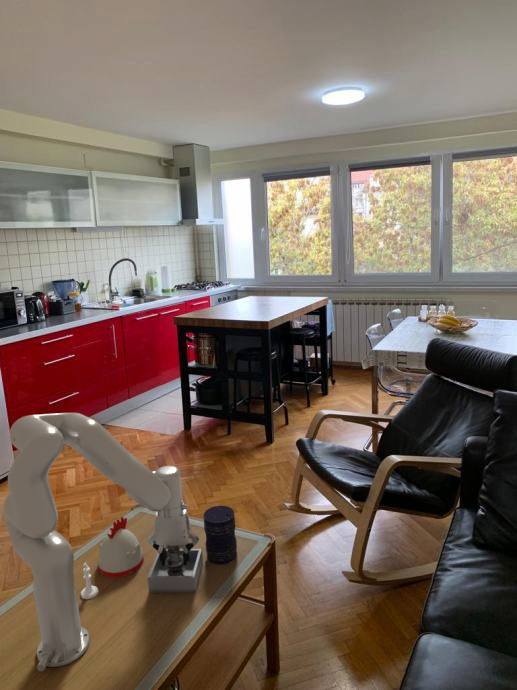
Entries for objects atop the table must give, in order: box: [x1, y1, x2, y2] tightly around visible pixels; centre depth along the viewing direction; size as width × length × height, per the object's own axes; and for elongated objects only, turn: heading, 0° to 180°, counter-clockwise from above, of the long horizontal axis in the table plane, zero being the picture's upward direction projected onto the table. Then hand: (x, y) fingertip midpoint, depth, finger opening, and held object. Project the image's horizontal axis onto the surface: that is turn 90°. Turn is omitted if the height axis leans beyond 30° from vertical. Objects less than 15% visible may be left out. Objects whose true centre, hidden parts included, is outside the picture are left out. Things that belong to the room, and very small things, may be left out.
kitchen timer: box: [97, 516, 145, 578], centre depth 164 cm, size 14×14×15 cm
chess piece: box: [80, 562, 99, 600], centre depth 151 cm, size 5×5×10 cm
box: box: [147, 548, 204, 594], centre depth 157 cm, size 14×14×5 cm
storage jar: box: [203, 505, 238, 566], centre depth 165 cm, size 10×10×15 cm
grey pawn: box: [165, 545, 185, 576], centre depth 155 cm, size 6×6×12 cm
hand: (175, 562), depth 156 cm, fingers closed on grey pawn, 5 cm apart
